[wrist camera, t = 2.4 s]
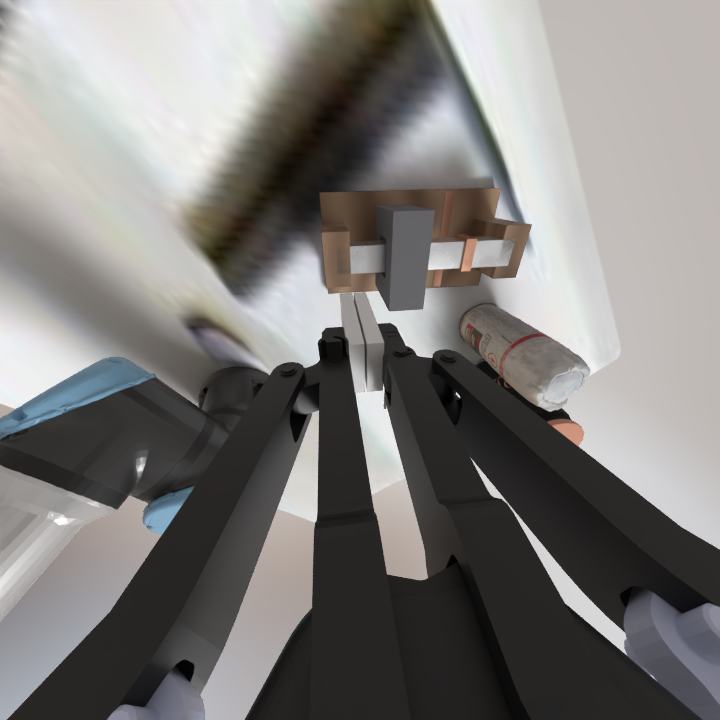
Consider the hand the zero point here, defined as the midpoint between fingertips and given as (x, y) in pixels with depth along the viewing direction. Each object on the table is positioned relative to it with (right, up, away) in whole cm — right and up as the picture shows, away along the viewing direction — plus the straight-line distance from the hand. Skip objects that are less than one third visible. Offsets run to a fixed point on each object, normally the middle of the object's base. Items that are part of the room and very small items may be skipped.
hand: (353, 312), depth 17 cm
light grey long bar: (+8, +11, +16) cm, 21 cm away
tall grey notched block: (+5, +12, +18) cm, 23 cm away
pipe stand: (+7, +14, +21) cm, 26 cm away
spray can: (+22, +4, +30) cm, 38 cm away
